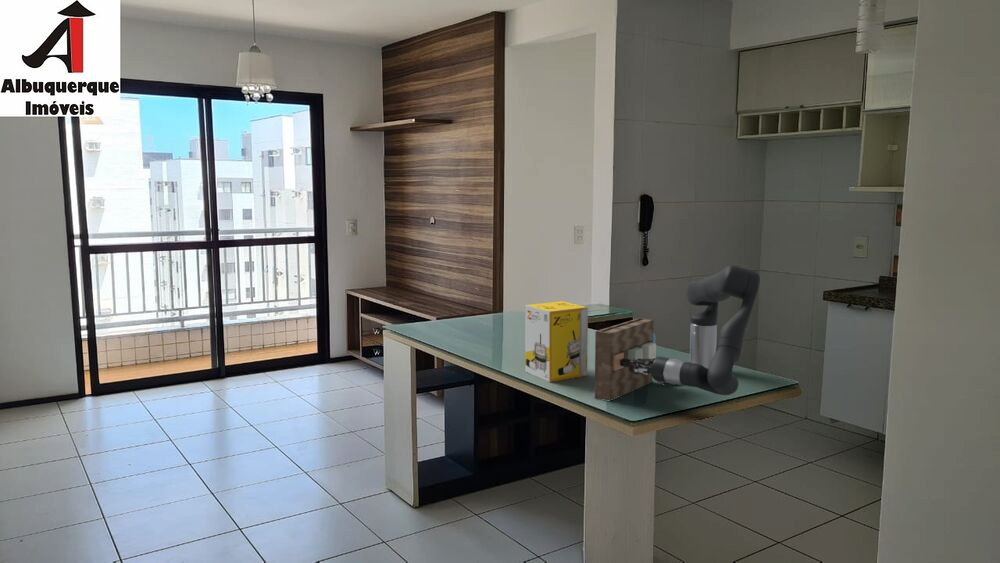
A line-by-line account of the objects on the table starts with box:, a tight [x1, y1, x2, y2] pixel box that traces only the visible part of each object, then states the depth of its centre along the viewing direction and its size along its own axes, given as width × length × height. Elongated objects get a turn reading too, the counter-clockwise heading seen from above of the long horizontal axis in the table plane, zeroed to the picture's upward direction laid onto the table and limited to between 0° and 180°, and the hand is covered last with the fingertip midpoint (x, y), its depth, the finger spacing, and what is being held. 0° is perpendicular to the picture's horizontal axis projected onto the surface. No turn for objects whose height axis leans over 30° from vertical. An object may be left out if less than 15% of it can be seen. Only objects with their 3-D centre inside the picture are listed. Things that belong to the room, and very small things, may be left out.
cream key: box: [642, 342, 657, 359], centre depth 241 cm, size 5×4×5 cm
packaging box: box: [524, 300, 589, 383], centre depth 257 cm, size 16×16×25 cm
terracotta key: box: [613, 352, 624, 371], centre depth 229 cm, size 5×4×5 cm
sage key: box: [628, 347, 643, 360], centre depth 234 cm, size 5×4×5 cm
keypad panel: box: [594, 317, 655, 401], centre depth 236 cm, size 28×6×22 cm, turn 140°
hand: (621, 361), depth 227 cm, fingers closed
